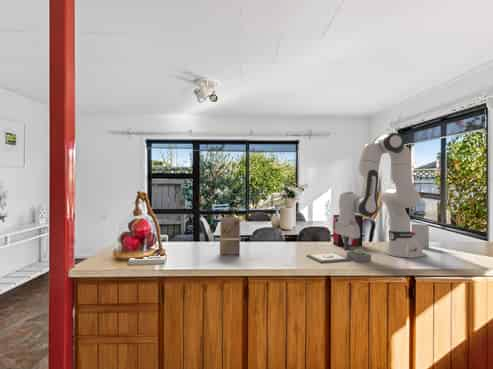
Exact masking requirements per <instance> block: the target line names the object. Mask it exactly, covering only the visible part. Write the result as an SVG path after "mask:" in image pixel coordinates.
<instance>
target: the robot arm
mask: <svg viewBox="0 0 493 369" xmlns="http://www.w3.org/2000/svg"><path fill="white" fill-rule="evenodd" d="M384 154H388V155H389V156H390V179H391V180H392V182H393V183H394V186H395V187H391V188H387V189H385V190H383V192H382V194H381V200H382V202H383V203H384V204H385V206H386V209H387V212H388V215H389V216H388V217H389V230H388V239H389V240H388V246H387V251H386V255H389V256H393V257H399V258H409V259H413V258H419V257H425V256H427V255H428V254H427V253H426V252H424V251H423V248H422V246H421V244H420V243H419V242H417V241H416V240H415V239H414V238H413V236H412V235H416V232H412V230H411V217H410V216H409V214H408V213H407V211H406V208H407V209H410V208H415V207H417V206H419V204H420V202H421V195H420V192H418V190H417V189H416V188H415V186H414V183H413V180H412V155H411V150H410V148H409V147H408V146H406V145H405V142H404V139H403V137H402V136H401V134H399V133H397V132H390V133H384V134H382V135H380V136H377V137H376V138H375V139H374V141H373V142H369V143H365V145H364V147H363V149H362V152H361V155H360V158H359V164H358V171H359V173H360V175H361V176H362V177H363V178H364V180H365V187H364V188H365V189H364V190H365V191H364V197H363V196H359V195H357V194H355V192H352V191H345V192H342V193H341V194H340V195H339V199H338V208H339V214H338V215H339V217H337V218H335V232H336V233H337V234H340V235H342V239H343V243H344V233H345V236H347V237H349V241H348V244H349V245H351V244H352V240H353V238H360V229H359V226H358V224H357V222H355V215H356V214H358V215H361V216H364V217H368V218H369V217H373V216H375V215H376V213H377V212H378V210H379V204H378V200H377V199H378V188H379V187H378V186H379V168H380V165H381V158H382V155H384Z"/></svg>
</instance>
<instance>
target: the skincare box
mask: <svg viewBox="0 0 493 369" xmlns="http://www.w3.org/2000/svg"><path fill="white" fill-rule="evenodd" d="M411 232H416V235H412V236H413V238H414V239H415V240H416V241H417V242H419V243H420V244H421V246H422V250H423V249H424V250H425V249H429V248H430V232H429V223H423V222H420V223H419V222H415V223H411Z"/></svg>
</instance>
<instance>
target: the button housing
mask: <svg viewBox="0 0 493 369" xmlns="http://www.w3.org/2000/svg"><path fill="white" fill-rule="evenodd" d="M346 258H349V259H350V261H353V262H356V263H361V262H363V263H364V262H371V261H372V254H370V253H367V252H364V251H363V254H362V255H356V254H354V251H347V252H346Z"/></svg>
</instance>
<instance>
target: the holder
mask: <svg viewBox="0 0 493 369" xmlns="http://www.w3.org/2000/svg"><path fill="white" fill-rule="evenodd" d="M165 261H167V255H164V256H160V255H158V256H149V257H144V258H143V259H135V258H131V257H130V258H129V259H128V265H160V264H161V263H165V264H166V262H165Z"/></svg>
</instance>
